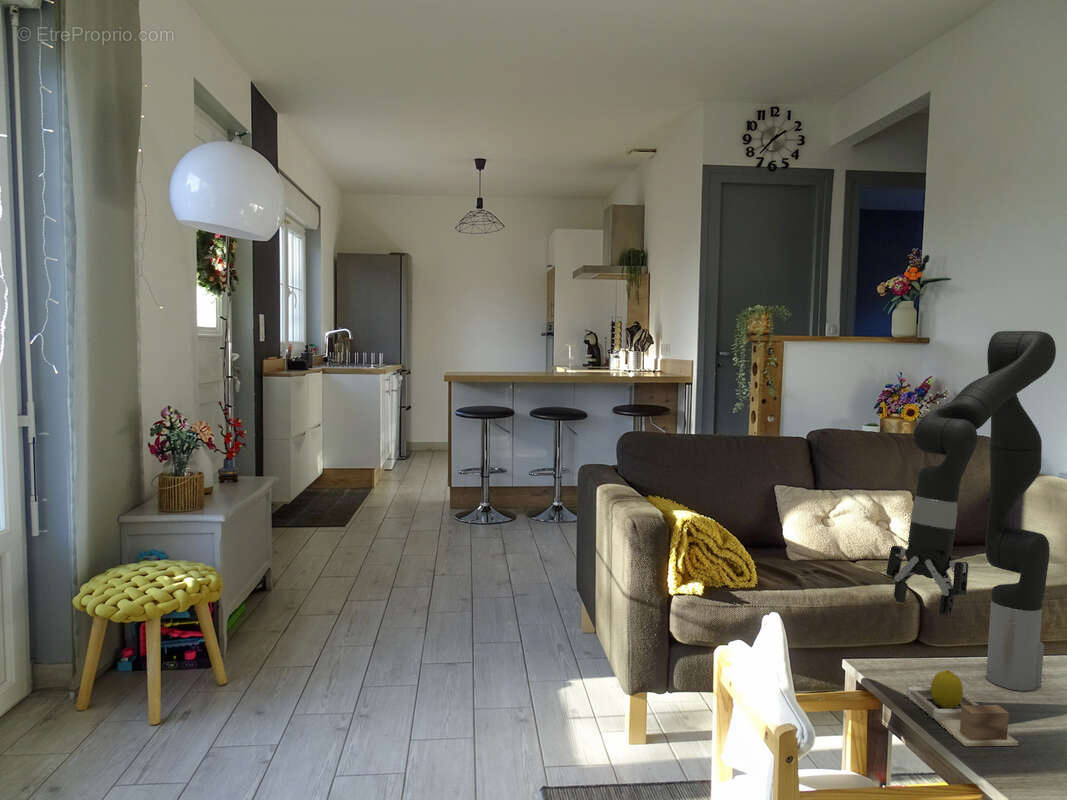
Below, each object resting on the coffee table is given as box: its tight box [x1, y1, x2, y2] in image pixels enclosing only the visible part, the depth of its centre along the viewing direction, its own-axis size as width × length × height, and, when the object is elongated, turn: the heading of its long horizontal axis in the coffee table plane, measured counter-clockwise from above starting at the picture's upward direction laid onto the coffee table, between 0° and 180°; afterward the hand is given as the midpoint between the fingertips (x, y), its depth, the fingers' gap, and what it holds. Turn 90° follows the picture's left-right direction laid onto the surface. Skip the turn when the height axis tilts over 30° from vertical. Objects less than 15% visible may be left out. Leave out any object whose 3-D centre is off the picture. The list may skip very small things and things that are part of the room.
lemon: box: [930, 669, 964, 709], centre depth 152 cm, size 6×6×8 cm
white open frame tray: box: [905, 686, 1020, 747], centre depth 148 cm, size 10×20×6 cm, turn 4°
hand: (921, 608), depth 145 cm, fingers open, 8 cm apart
